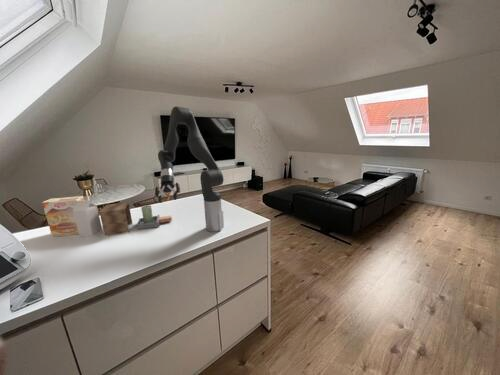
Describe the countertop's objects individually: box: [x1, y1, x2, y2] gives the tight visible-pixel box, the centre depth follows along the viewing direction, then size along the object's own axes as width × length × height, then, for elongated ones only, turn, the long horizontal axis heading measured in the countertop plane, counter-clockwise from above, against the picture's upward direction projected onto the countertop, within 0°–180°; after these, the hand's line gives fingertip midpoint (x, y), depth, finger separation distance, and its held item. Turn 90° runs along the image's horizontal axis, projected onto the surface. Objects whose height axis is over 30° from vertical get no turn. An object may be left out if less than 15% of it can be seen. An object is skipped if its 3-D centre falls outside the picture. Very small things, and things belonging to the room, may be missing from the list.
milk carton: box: [73, 200, 103, 238], centre depth 105 cm, size 7×7×19 cm
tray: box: [136, 214, 173, 230], centre depth 119 cm, size 18×12×3 cm, turn 111°
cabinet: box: [99, 201, 133, 237], centre depth 111 cm, size 11×12×14 cm
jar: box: [141, 204, 154, 223], centre depth 116 cm, size 5×5×10 cm
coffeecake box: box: [41, 195, 85, 238], centre depth 108 cm, size 15×7×20 cm, turn 105°
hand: (167, 200), depth 118 cm, fingers open, 8 cm apart
